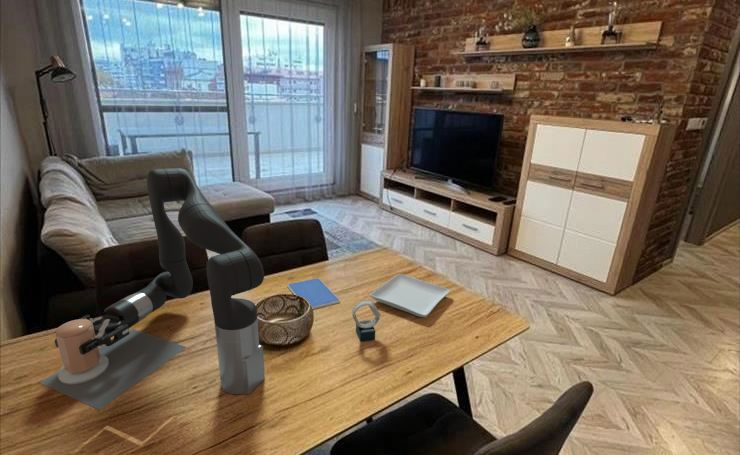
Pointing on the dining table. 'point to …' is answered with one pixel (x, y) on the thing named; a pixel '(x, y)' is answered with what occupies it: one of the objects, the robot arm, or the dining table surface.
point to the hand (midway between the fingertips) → (68, 347)
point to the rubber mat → (120, 368)
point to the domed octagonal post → (76, 345)
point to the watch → (366, 322)
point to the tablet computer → (314, 293)
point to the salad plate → (410, 294)
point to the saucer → (84, 373)
